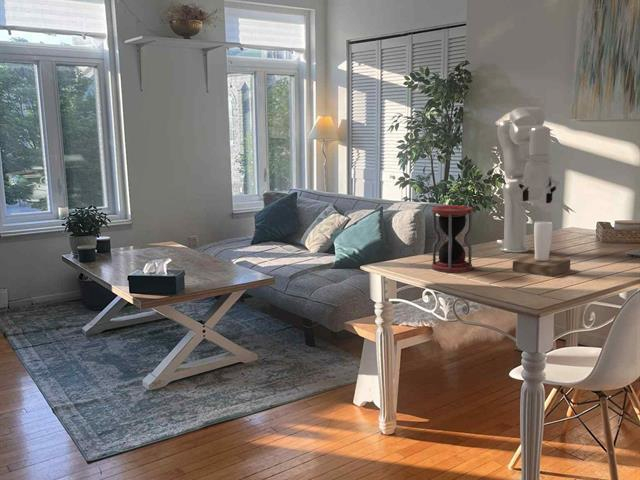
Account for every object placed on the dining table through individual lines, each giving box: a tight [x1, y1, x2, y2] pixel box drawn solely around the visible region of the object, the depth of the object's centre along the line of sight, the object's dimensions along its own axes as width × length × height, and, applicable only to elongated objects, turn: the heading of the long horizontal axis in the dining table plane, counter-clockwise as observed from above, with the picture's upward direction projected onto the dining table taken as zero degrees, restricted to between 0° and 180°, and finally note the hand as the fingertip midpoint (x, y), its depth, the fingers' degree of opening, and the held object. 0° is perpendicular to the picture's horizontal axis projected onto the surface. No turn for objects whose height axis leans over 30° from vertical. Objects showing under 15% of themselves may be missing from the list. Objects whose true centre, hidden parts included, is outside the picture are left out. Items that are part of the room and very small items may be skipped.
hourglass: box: [431, 204, 474, 273], centre depth 253 cm, size 16×16×25 cm
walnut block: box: [512, 254, 571, 277], centre depth 248 cm, size 16×16×4 cm
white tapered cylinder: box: [533, 220, 553, 261], centre depth 246 cm, size 7×7×15 cm
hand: (537, 201), depth 250 cm, fingers open, 9 cm apart
